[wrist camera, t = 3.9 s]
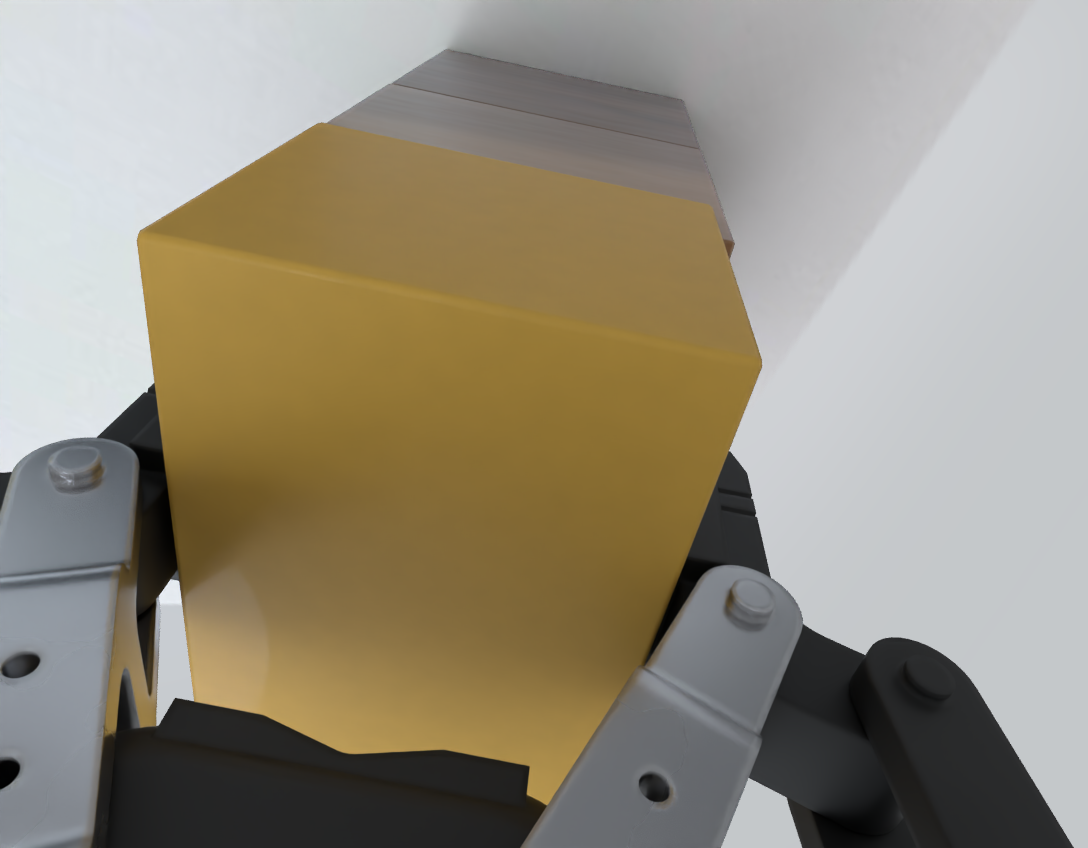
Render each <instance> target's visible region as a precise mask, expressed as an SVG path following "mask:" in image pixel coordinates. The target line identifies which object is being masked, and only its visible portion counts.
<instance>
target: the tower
mask: <svg viewBox="0 0 1088 848" xmlns="http://www.w3.org/2000/svg"><path fill="white" fill-rule="evenodd" d="M326 124H331V125H336V126H340V127H345V128H350V129H354V130H359V131H364V132H369V133H373V134H378V135H383V136H388V137H392V138H397V139H402V140H406V141H411V142H416V143H421V144H425V145H430V146H435V147H440V148H444V149H449V150H454V151H458V152H463V153H468V154H473V155H477V156H482V157H487V158H492V159H496V160H501V161H506V162H510V163H515V164H520V165H525V166H529V167H534V168H539V169H544V170H548V171H553V172H558V173H562V174H567V175H572V176H577V177H581V178H586V179H591V180H596V181H600V182H605V183H610V184H614V185H619V186H624V187H629V188H633V189H638V190H643V191H647V192H652V193H657V194H662V195H666V196H671V197H676V198H681V199H685V200H690V201H695V202H699V203H704V204H709V205H710V206H711V207H713V210H714V213H715V217H716V220H717V223H718V226H719V229H720V232H721V235H722V238H723V241H724V244H725V248H726V251H727V254H728V257H729V260H730V257H731V254H732V251H733V248H734V245H735V243H734V240H733V237H732V234H731V231H730V228H729V226H728V223H727V220H726V217H725V214H724V212H723V209H722V206H721V203H720V200H719V198H718V195H717V192H716V189H715V186H714V184H713V181H712V178H711V175H710V173H709V170H708V167H707V164H706V161H705V159H704V156H703V153H702V151H701V149H700V146H699V144H698V141H697V138H696V135H695V132H694V130H693V127H692V124H691V121H690V118H689V115H688V113H687V110H686V107H685V104H684V101H682V100H679V99H675V98H670V97H665V96H661V95H656V94H651V93H647V92H642V91H637V90H633V89H628V88H623V87H619V86H614V85H609V84H605V83H600V82H595V81H591V80H586V79H581V78H577V77H572V76H567V75H563V74H558V73H553V72H549V71H544V70H540V69H535V68H530V67H526V66H521V65H516V64H512V63H507V62H502V61H498V60H493V59H488V58H484V57H479V56H474V55H470V54H465V53H460V52H456V51H451V50H444V51H442V52H441V53H439V54H438V55H436V56H434V57H433V58H431V59H430V60H428V61H426V62H425V63H423V64H422V65H420V66H418V67H417V68H415V69H414V70H412V71H410V72H409V73H407V74H406V75H404V76H402V77H401V78H399V79H398V80H396V81H394V82H393V83H391V84H388V85H387V86H385V87H383V88H382V89H380V90H379V91H377V92H375V93H374V94H372V95H371V96H369V97H367V98H366V99H364V100H363V101H361V102H359V103H358V104H356V105H355V106H353V107H351V108H350V109H348V110H346V111H345V112H343V113H342V114H340V115H338V116H337V117H335V118H334V119H332V120H330V121H329V122H327V123H326Z"/></svg>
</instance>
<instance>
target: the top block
mask: <svg viewBox="0 0 1088 848" xmlns="http://www.w3.org/2000/svg"><path fill="white" fill-rule="evenodd" d="M137 246H138V254H139V262H140V270H141V278H142V286H143V294H144V302H145V310H146V318H147V326H148V334H149V342H150V350H151V358H152V366H153V374H154V382H155V390H156V398H157V406H158V414H159V422H160V430H161V438H162V446H163V454H164V462H165V470H166V478H167V486H168V494H169V502H170V510H171V518H172V526H173V534H174V542H175V550H176V558H177V566H178V574H179V582H180V590H181V598H182V606H183V615H184V623H185V631H186V638H187V647H188V655H189V662H190V671H191V678H192V686H193V694H194V702H199V703H204V704H210V705H215V706H220V707H225V708H230V709H235V710H241V711H246V712H251V713H256V714H261V715H265V716H267V717H269V718H271V719H273V720H275V721H277V722H279V723H281V724H283V725H285V726H287V727H290V728H292V729H294V730H296V731H298V732H300V733H302V734H304V735H306V736H308V737H310V738H313V739H315V740H317V741H319V742H321V743H323V744H325V745H327V746H329V747H331V748H333V749H335V750H338V751H340V752H343V753H348V754H366V753H386V752H405V751H425V750H449V751H454V752H459V753H464V754H469V755H475V756H480V757H485V758H490V759H495V760H501V761H506V762H511V763H516V764H521V765H527V766H530V770H529V779H528V787H527V795H529V796H531V797H533V798H535V799H537V800H539V801H541V802H542V803H544V804H546V805H548V804H549V802H550V801H551V799H552V798H553V796H554V794H555V793H556V791H557V790H558V788H559V787H560V785H561V783H562V782H563V780H564V779H565V777H566V776H567V774H568V773H569V771H570V769H571V768H572V766H573V765H574V763H575V762H576V760H577V759H578V757H579V755H580V754H581V752H582V751H583V749H584V748H585V746H586V744H587V743H588V741H589V740H590V738H591V737H592V735H593V734H594V732H595V730H596V729H597V727H598V726H599V724H600V723H601V721H602V720H603V718H604V716H605V715H606V713H607V712H608V710H609V709H610V707H611V705H612V704H613V702H614V701H615V699H616V698H617V696H618V695H619V693H620V691H621V690H622V688H623V687H624V685H625V684H626V682H627V680H628V679H629V677H630V676H631V674H632V673H633V672H634V670H635V669H636V668H637V667H638V666H639V665H642V666H644V665H645V662H646V660H647V657H648V655H649V652H650V649H651V647H652V644H653V642H654V639H655V637H656V634H657V632H658V629H659V627H660V624H661V622H662V619H663V616H664V614H665V611H666V609H667V606H668V604H669V601H670V599H671V596H672V594H673V591H674V589H675V586H676V584H677V581H678V578H679V576H680V573H681V571H682V568H683V566H684V563H685V561H686V558H687V556H688V553H689V551H690V548H691V546H692V543H693V540H694V538H695V535H696V533H697V530H698V528H699V525H700V523H701V520H702V518H703V515H704V513H705V510H706V508H707V505H708V502H709V500H710V497H711V495H712V492H713V490H714V487H715V485H716V482H717V480H718V477H719V475H720V472H721V470H722V467H723V464H724V462H725V459H726V457H727V454H728V452H729V449H730V447H731V444H732V442H733V439H734V436H735V434H736V431H737V429H738V426H739V424H740V421H741V419H742V416H743V414H744V411H745V409H746V406H747V404H748V401H749V399H750V396H751V394H752V391H753V388H754V386H755V383H756V381H757V378H758V376H759V373H760V371H761V368H762V359H761V356H760V353H759V350H758V347H757V344H756V340H755V337H754V334H753V331H752V328H751V325H750V322H749V319H748V316H747V313H746V309H745V306H744V303H743V300H742V297H741V294H740V291H739V288H738V285H737V282H736V278H735V275H734V272H733V269H732V266H731V263H730V260H729V257H728V254H727V251H726V248H725V244H724V241H723V238H722V235H721V232H720V229H719V226H718V223H717V220H716V217H715V213H714V210H713V207H711V206H710V205H709V204H704V203H699V202H695V201H690V200H685V199H681V198H676V197H671V196H666V195H662V194H657V193H652V192H647V191H643V190H638V189H633V188H629V187H624V186H619V185H614V184H610V183H605V182H600V181H596V180H591V179H586V178H581V177H577V176H572V175H567V174H562V173H558V172H553V171H548V170H544V169H539V168H534V167H529V166H525V165H520V164H515V163H510V162H506V161H501V160H496V159H492V158H487V157H482V156H477V155H473V154H468V153H463V152H458V151H454V150H449V149H444V148H440V147H435V146H430V145H425V144H421V143H416V142H411V141H406V140H402V139H397V138H392V137H388V136H383V135H378V134H373V133H369V132H364V131H359V130H354V129H350V128H345V127H340V126H336V125H331V124H326V123H318V124H316V125H314V126H312V127H311V128H309V129H308V130H306V131H304V132H303V133H301V134H299V135H298V136H296V137H294V138H293V139H291V140H289V141H288V142H286V143H284V144H283V145H281V146H279V147H278V148H276V149H274V150H273V151H271V152H270V153H268V154H266V155H265V156H263V157H261V158H260V159H258V160H256V161H255V162H253V163H251V164H250V165H248V166H246V167H245V168H243V169H241V170H240V171H238V172H237V173H235V174H233V175H232V176H230V177H228V178H227V179H225V180H223V181H222V182H220V183H218V184H217V185H215V186H213V187H212V188H210V189H208V190H207V191H205V192H203V193H202V194H200V195H199V196H197V197H195V198H194V199H192V200H190V201H189V202H187V203H185V204H184V205H182V206H180V207H179V208H177V209H175V210H174V211H172V212H170V213H169V214H167V215H166V216H164V217H162V218H161V219H159V220H157V221H156V222H154V223H152V224H151V225H149V226H147V227H146V228H144V229H142V230H141V231H140V232H139V234H138V238H137Z"/></svg>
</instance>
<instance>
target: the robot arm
mask: <svg viewBox="0 0 1088 848" xmlns="http://www.w3.org/2000/svg"><path fill="white" fill-rule="evenodd" d="M751 496H752V493H751V488H750V484H749V480H748V475H747V473H746V471H745V470H744V469H743V467H742V466H741V465H740V463H739V462H738V461H737V460H736V458H735V457H734V456H733V455H732V453H731V452H728V454H727V457H726V459H725V462H724V464H723V467H722V470H721V472H720V475H719V477H718V480H717V482H716V485H715V487H714V490H713V492H712V495H711V497H710V500H709V502H708V505H707V508H706V510H705V513H704V515H703V518H702V520H701V523H700V525H699V528H698V530H697V533H696V535H695V538H694V540H693V543H692V546H691V548H690V551H689V553H688V556H687V558H686V561H685V563H684V566H683V568H682V571H681V573H680V576H679V578H678V581H677V584H676V586H675V589H674V591H673V594H672V596H671V599H670V601H669V604H668V606H667V609H666V611H665V614H664V616H663V619H662V622H661V624H660V627H659V629H658V632H657V634H656V637H655V639H654V642H653V644H652V647H651V649H650V652H649V655H648V657H647V660H646V662H645V665H644V666H642V665H639V666H638V667H637V668H636V669H635V670H634V672H633V673H632V674H631V676H630V677H629V679H628V680H627V682H626V684H625V685H624V687H623V688H622V690H621V691H620V693H619V695H618V696H617V698H616V699H615V701H614V702H613V704H612V705H611V707H610V709H609V710H608V712H607V713H606V715H605V716H604V718H603V720H602V721H601V723H600V724H599V726H598V727H597V729H596V730H595V732H594V734H593V735H592V737H591V738H590V740H589V741H588V743H587V744H586V746H585V748H584V749H583V751H582V752H581V754H580V755H579V757H578V759H577V760H576V762H575V763H574V765H573V766H572V768H571V769H570V771H569V773H568V774H567V776H566V777H565V779H564V780H563V782H562V783H561V785H560V787H559V788H558V790H557V791H556V793H555V794H554V796H553V798H552V799H551V801H550V802H549V804H548V805H546V804H544V803H542V802H541V801H539V800H537V799H535V798H533V797H531V796H529V795H527V787H528V779H529V770H530V766H527V765H521V764H516V763H511V762H506V761H501V760H495V759H490V758H485V757H480V756H475V755H469V754H464V753H459V752H454V751H449V750H425V751H405V752H386V753H366V754H348V753H343V752H340V751H338V750H335V749H333V748H331V747H329V746H327V745H325V744H323V743H321V742H319V741H317V740H315V739H313V738H310V737H308V736H306V735H304V734H302V733H300V732H298V731H296V730H294V729H292V728H290V727H287V726H285V725H283V724H281V723H279V722H277V721H275V720H273V719H271V718H269V717H267V716H265V715H261V714H256V713H251V712H246V711H241V710H235V709H230V708H225V707H220V706H215V705H210V704H204V703H199V702H194V701H189V700H183V699H178V698H175V699H174V701H173V702H172V704H171V706H170V707H169V709H168V711H167V713H166V714H165V716H164V718H163V719H162V721H161V723H160V725H159V726H156V707H157V684H158V659H159V636H160V602H159V595H160V593H161V592H162V591H163V589H164V588H165V586H166V585H167V583H168V582H169V581H170V579H173V580H178V581H179V574H178V566H177V558H176V550H175V542H174V534H173V526H172V518H171V510H170V502H169V494H168V486H167V478H166V470H165V462H164V454H163V446H162V438H161V430H160V422H159V414H158V406H157V398H156V390H155V383H154V384H153V385H152V386H150V387H149V388H148V392H147V393H145V392H144V393H143V394H142V395H141V396H140V397H139V398H138V399H137V400H136V401H135V402H134V403H133V404H131V405H130V406H129V407H128V408H127V409H126V410H125V411H124V412H123V413H122V414H121V415H120V416H119V417H118V418H117V419H116V420H115V421H114V422H113V423H111V424H110V425H109V426H108V427H107V428H106V429H105V430H104V431H103V432H102V433H101V434H100V435H99V436H98V437H97V438H76V439H69V440H63V441H59V442H55V443H52V444H49V445H46V446H44V447H41V448H39V449H37V450H35V451H33V452H31V453H30V454H28V455H27V456H25V457H24V458H23V459H22V460H21V461H20V462H19V463H18V464H17V465H16V466H15V468H14V469H13V471H12V472H7V473H0V848H721V846H722V843H723V841H724V838H725V836H726V833H727V830H728V828H729V826H730V823H731V821H732V818H733V815H734V813H735V811H736V808H737V806H738V803H739V800H740V798H741V795H742V793H743V790H744V788H745V785H746V782H747V780H748V778H750V779H752V780H754V781H756V782H758V783H760V784H762V785H764V786H766V787H768V788H770V789H772V790H774V791H775V792H777V793H779V794H781V795H783V796H785V797H787V800H788V804H789V807H790V811H791V814H792V817H793V820H794V823H795V826H796V829H797V832H798V836H799V839H800V842H801V844H802V848H1074V847H1073V846H1072V844H1071V843H1070V841H1069V839H1068V838H1067V836H1066V834H1065V833H1064V831H1063V829H1062V828H1061V826H1060V825H1059V823H1058V822H1057V820H1056V818H1055V816H1054V815H1053V813H1052V812H1051V810H1050V808H1049V806H1048V805H1047V803H1046V802H1045V800H1044V798H1043V797H1042V795H1041V793H1040V792H1039V790H1038V788H1037V787H1036V785H1035V783H1034V782H1033V780H1032V779H1031V777H1030V775H1029V774H1028V772H1027V771H1026V769H1025V767H1024V765H1023V764H1022V763H1021V761H1020V759H1019V757H1018V756H1017V754H1016V752H1015V751H1014V749H1013V747H1012V746H1011V744H1010V742H1009V741H1008V739H1007V738H1006V736H1005V734H1004V733H1003V731H1002V729H1001V728H1000V726H999V724H998V723H997V721H996V720H995V718H994V717H993V715H992V713H991V711H990V710H989V708H988V706H987V705H986V703H985V701H984V700H983V698H982V697H981V695H980V693H979V692H978V690H977V688H976V687H975V686H974V684H973V683H972V681H971V680H970V678H969V677H968V676H967V675H966V674H965V673H964V672H963V671H962V670H961V669H960V668H959V667H958V666H957V665H956V664H955V663H954V662H952V661H951V660H950V659H949V658H947V657H946V656H944V655H943V654H941V653H940V652H938V651H937V650H935V649H933V648H931V647H929V646H927V645H924V644H922V643H919V642H917V641H913V640H910V639H905V638H892V637H891V638H885V639H882V640H879V641H877V642H876V643H875V644H873V645H872V647H871V648H870V649H869V651H868V652H867V654H866V655H864V654H861V653H859V652H857V651H854V650H852V649H850V648H848V647H846V646H844V645H841V644H839V643H837V642H835V641H833V640H830V639H828V638H826V637H824V636H822V635H820V634H818V633H816V632H815V631H813V630H811V629H809V628H808V627H807V626H805V625H804V624H803V618H802V614H801V611H800V608H799V607H798V604H797V603H796V601H795V600H794V598H793V597H792V596H791V594H790V593H789V592H788V591H787V590H786V589H785V588H784V587H783V586H782V585H780V584H779V583H778V582H776V581H775V580H774V579H772V578H771V576H770V572H769V568H768V564H767V559H766V554H765V550H764V546H763V541H762V537H761V533H760V528H759V524H758V520H757V517H755V514H756V510H755V506H754V502H753V499H751Z"/></svg>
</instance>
